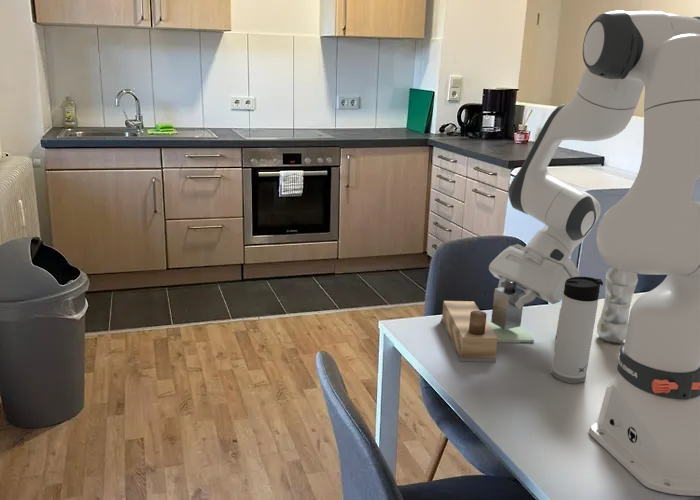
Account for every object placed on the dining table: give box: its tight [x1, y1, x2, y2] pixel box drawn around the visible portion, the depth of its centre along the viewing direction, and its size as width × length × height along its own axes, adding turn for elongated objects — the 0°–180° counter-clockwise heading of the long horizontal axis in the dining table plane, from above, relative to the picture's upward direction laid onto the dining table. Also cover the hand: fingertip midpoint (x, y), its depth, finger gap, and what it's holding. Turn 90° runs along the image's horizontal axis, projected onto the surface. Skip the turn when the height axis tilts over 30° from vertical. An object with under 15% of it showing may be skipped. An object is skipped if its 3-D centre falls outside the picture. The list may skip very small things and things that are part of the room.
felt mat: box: [486, 320, 535, 344], centre depth 142 cm, size 10×10×1 cm
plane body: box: [440, 300, 498, 363], centre depth 136 cm, size 21×7×9 cm, turn 3°
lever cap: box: [490, 280, 526, 330], centre depth 140 cm, size 4×4×10 cm
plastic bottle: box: [596, 267, 639, 344], centre depth 137 cm, size 6×7×20 cm
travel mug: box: [551, 276, 604, 384], centre depth 120 cm, size 6×7×20 cm
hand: (506, 302), depth 139 cm, fingers closed on lever cap, 4 cm apart
